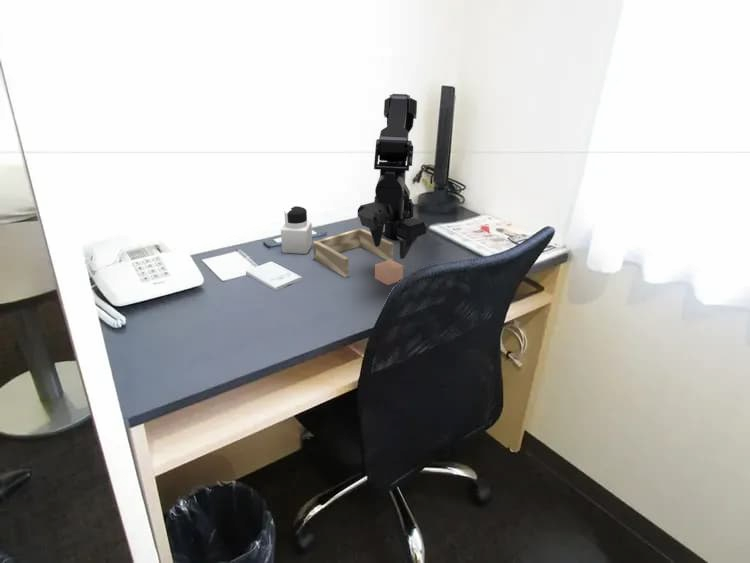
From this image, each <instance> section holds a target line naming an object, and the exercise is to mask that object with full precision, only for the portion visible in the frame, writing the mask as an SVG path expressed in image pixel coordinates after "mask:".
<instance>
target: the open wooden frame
mask: <svg viewBox="0 0 750 563" xmlns="http://www.w3.org/2000/svg"><path fill="white" fill-rule="evenodd" d="M359 247H361V248H362V249H365V250H366V251H369V252H370V253H373V254H375V255H376V256H378V257H380V258H382V259H384V260H385V261H386V260H389V259H390V260H392V261H394V243H393V242H391V241H390V240H387V239H385V238H383V237H382V238H381V242H380V246H378V247H376V246H375V244H374V241H373V237H372V234H371V231H368V230H367V229H364V228H361V227H359V228H356V229H352V230H349V231H346V232H342V233H338V234H336V235H331V236H328V237H324V238H322V239H318V240H314V241H312V248H313V250H312V251H313V259H314V260H315V261H317V262H319V263H320V264H321V265H324V266H325V267H327V268H329V269H331V270H332V271H334V272H335V273H338V274H339V275H340V276H342V277H343V278H347V277H349V274H350V272H349V271H350V270H349V269H350V268H349V266H350V264H349V257H347V256H345V255H343V254H341V253H343V252H346V251H349V250H353V249H356V248H359Z"/></svg>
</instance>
